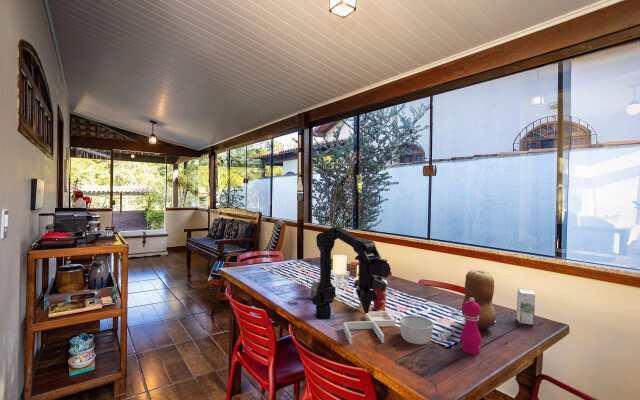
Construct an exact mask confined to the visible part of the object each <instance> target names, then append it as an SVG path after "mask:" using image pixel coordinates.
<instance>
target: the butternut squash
mask: <svg viewBox="0 0 640 400" xmlns="http://www.w3.org/2000/svg"><path fill="white" fill-rule="evenodd" d="M494 294H495V280H494V276H493V275H492V274H491V273H490V272H488V271H485V270H477V269H471V270H469V271H468V272H467V273H466V275H465V280H464V298H463V302H462V304H461V314H462V316H463V317H464V313H465V312H464V311H463V305H464V303H465V302H467V301H469V299H470V298H471V297H472V298H474V300H475V301H474V302H476V303H477V304H479V306H480V308H481V312H480V314H479V315H478V316H479V320H478V322H477V326H478V330H479V331H484V330H487V329H489V328H490V327H492V326H493V325H494V323H495V322H496V318H497V313H496V309H495V307H494V304H493V297H494Z"/></svg>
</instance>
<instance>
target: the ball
mask: <svg viewBox="0 0 640 400" xmlns="http://www.w3.org/2000/svg"><path fill="white" fill-rule="evenodd" d="M358 310H359V311H360V312H361V313H362V314H364V315H365V314H366V313H365V312H364V309H363V306H362V303H361V302H360V301H359V304H358ZM371 311H372V304H370V307H369V310H368V313H369V312H371Z"/></svg>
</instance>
